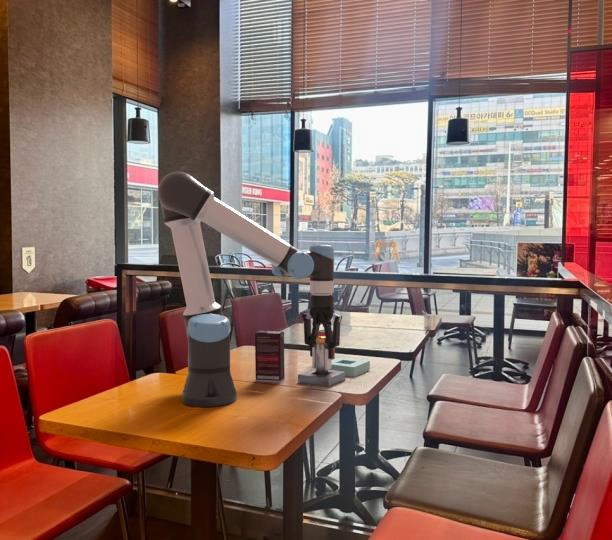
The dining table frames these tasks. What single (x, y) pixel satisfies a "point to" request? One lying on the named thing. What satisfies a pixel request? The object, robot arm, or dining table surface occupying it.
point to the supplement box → (269, 356)
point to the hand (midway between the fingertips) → (321, 367)
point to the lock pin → (321, 355)
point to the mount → (321, 378)
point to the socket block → (350, 366)
